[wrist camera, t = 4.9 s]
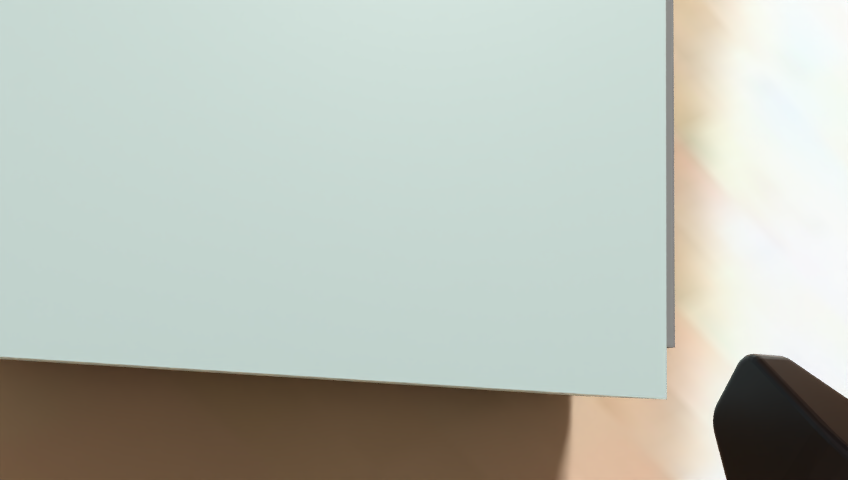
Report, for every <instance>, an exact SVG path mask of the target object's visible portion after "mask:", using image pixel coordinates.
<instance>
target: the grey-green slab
mask: <svg viewBox="0 0 848 480" xmlns="http://www.w3.org/2000/svg"><path fill="white" fill-rule="evenodd" d="M0 359H8V360H24V361H40V362H56V363H71V364H87V365H103V366H119V367H134V368H150V369H166V370H182V371H197V372H213V373H229V374H245V375H260V376H276V377H292V378H308V379H323V380H339V381H355V382H371V383H386V384H402V385H418V386H434V387H450V388H465V389H481V390H497V391H513V392H528V393H544V394H560V395H576V396H595V397H621V398H647V399H667V346H666V0H0Z"/></svg>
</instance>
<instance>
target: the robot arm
mask: <svg viewBox="0 0 848 480" xmlns="http://www.w3.org/2000/svg"><path fill="white" fill-rule="evenodd" d="M713 427H714V433H715V437H716V441H717V445H718V448H719V452H720V456H721V460H722V464H723V468H724V471H725V475H726V479H727V480H848V399H847V398H845V397H844V396H843V395H841V394H840V393H838V392H837V391H835V390H834V389H832V388H831V387H829V386H828V385H826V384H825V383H824V382H822V381H821V380H819V379H818V378H816V377H815V376H813V375H812V374H810V373H809V372H808V371H806V370H805V369H803V368H802V367H800V366H799V365H797V364H796V363H794V362H793V361H791V360H790V359H788V358H785V357H782V356H775V355H762V354H750V355H747V356H745V357H744V358H743V359H741V360H740V362H739V363H738V365H737V367H736V369H735V371H734V373H733V374H732V376H731V378H730V380H729V382H728V384H727V386H726V388H725V390H724V392H723V393H722V395H721V397H720V399H719V401H718V403H717V405H716V407H715V411H714V416H713Z"/></svg>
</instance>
